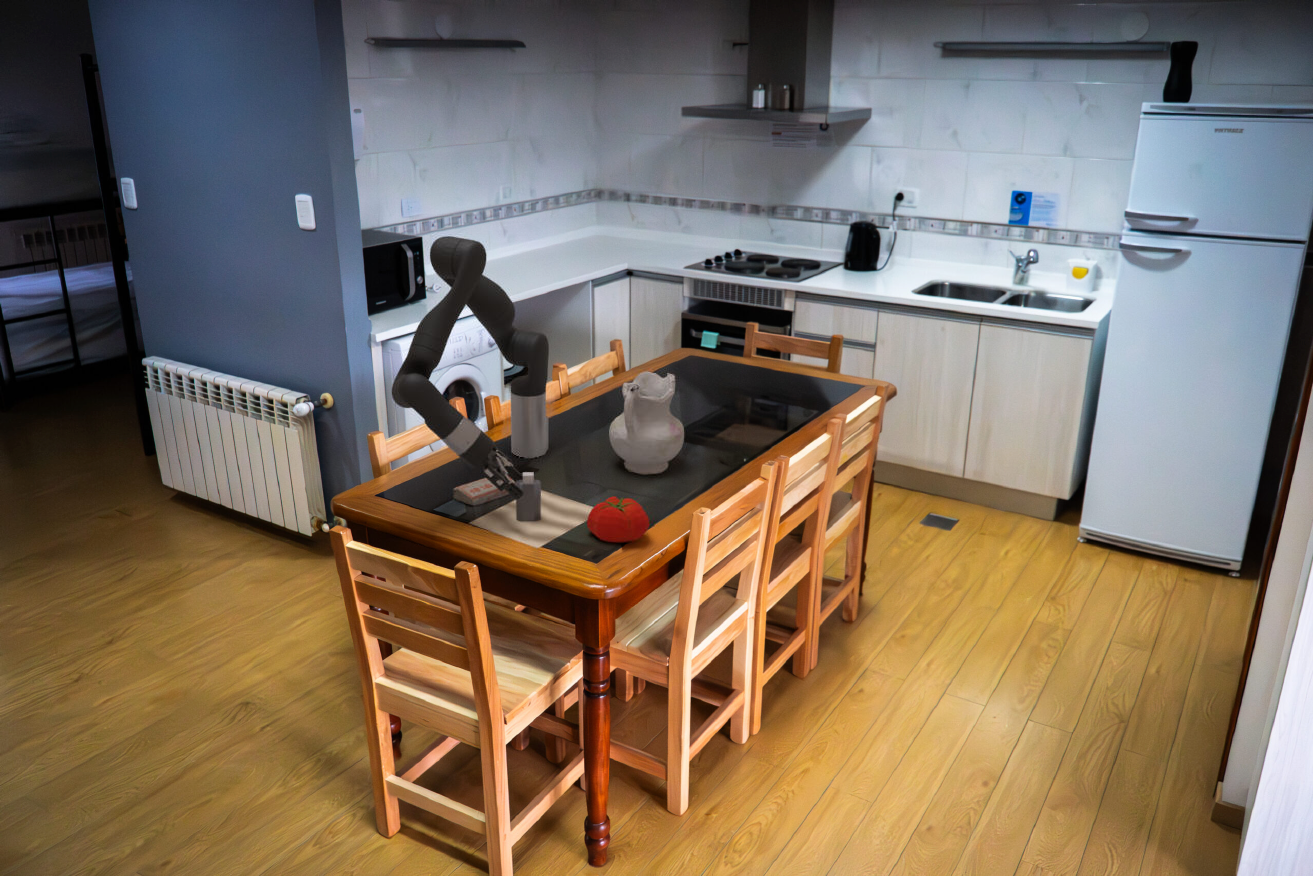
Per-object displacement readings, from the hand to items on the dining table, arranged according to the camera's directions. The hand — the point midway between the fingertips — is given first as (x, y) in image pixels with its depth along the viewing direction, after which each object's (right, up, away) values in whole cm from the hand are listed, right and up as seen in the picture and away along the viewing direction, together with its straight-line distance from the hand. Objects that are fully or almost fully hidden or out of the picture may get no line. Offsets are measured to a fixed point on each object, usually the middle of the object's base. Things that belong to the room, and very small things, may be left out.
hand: (521, 488), depth 226 cm
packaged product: (-10, -4, +15) cm, 19 cm away
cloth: (+3, -8, +4) cm, 9 cm away
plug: (+1, -7, +3) cm, 8 cm away
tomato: (+22, -11, -1) cm, 24 cm away
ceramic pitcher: (+27, +4, +37) cm, 46 cm away
